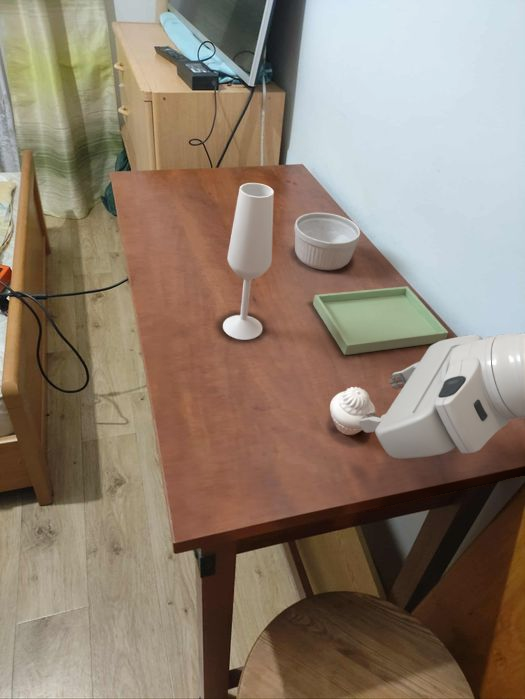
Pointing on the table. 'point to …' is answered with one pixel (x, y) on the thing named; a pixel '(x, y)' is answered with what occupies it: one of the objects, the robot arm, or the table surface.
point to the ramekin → (325, 240)
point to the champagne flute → (250, 251)
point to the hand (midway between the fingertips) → (378, 401)
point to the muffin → (350, 409)
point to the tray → (378, 319)
